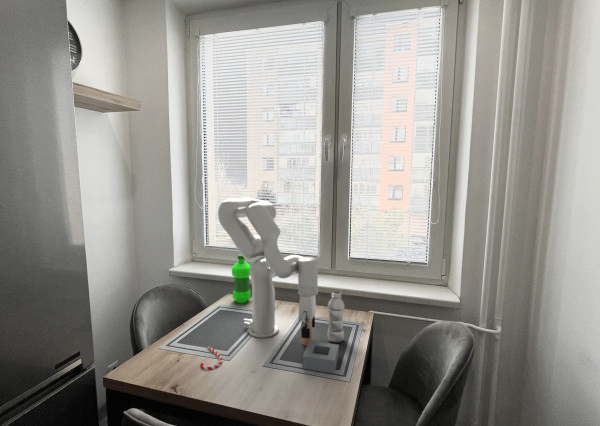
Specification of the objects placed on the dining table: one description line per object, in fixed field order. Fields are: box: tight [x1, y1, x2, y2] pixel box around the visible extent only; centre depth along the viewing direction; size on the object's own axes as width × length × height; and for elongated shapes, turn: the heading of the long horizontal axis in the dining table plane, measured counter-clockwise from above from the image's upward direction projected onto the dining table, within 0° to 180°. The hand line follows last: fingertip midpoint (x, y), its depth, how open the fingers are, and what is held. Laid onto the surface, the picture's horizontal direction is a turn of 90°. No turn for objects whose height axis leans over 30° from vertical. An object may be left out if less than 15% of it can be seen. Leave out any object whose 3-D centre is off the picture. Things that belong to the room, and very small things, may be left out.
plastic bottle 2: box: [326, 290, 345, 344], centre depth 130 cm, size 6×7×20 cm
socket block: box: [301, 340, 340, 374], centre depth 115 cm, size 11×11×4 cm
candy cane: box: [199, 346, 224, 371], centre depth 116 cm, size 8×1×15 cm
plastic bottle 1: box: [231, 253, 252, 304], centre depth 170 cm, size 10×10×25 cm
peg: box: [301, 319, 313, 347], centre depth 128 cm, size 4×4×10 cm
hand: (308, 332), depth 128 cm, fingers open, 9 cm apart
